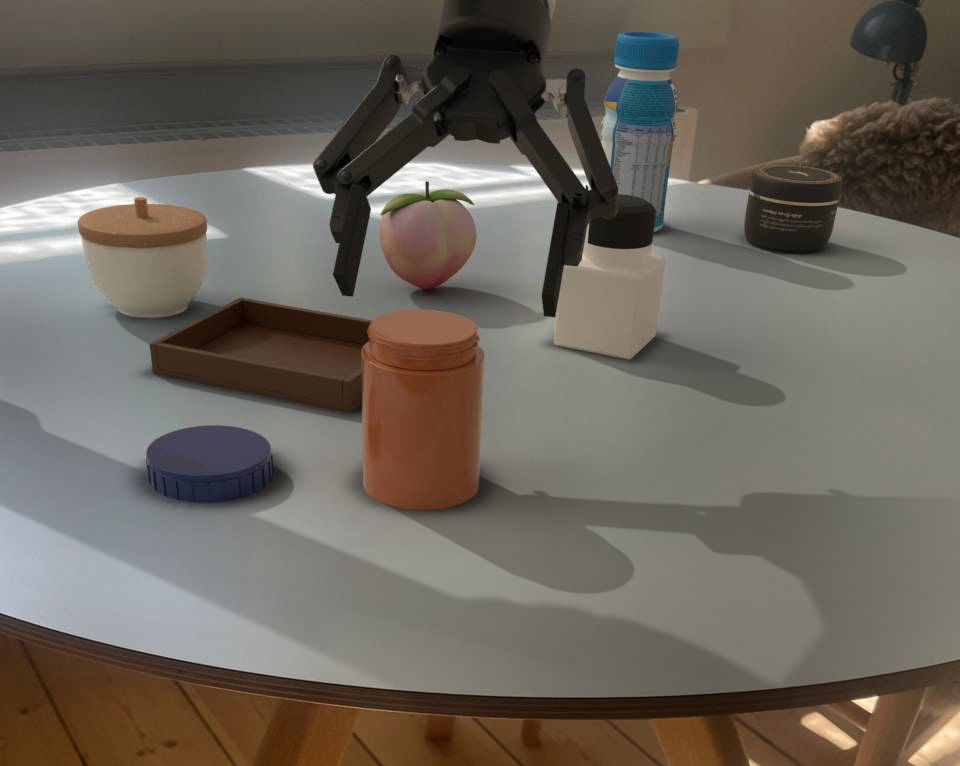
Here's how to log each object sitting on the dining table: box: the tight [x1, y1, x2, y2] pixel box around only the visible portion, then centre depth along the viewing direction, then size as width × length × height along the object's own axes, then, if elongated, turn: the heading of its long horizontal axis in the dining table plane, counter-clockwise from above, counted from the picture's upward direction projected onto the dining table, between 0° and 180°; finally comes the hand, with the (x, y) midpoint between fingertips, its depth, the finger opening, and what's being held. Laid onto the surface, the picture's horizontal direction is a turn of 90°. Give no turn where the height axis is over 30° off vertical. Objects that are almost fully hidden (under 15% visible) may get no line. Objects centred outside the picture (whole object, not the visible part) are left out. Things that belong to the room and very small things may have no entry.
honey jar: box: [361, 309, 486, 511], centre depth 73 cm, size 8×8×11 cm
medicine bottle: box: [553, 194, 666, 360], centre depth 98 cm, size 7×7×12 cm
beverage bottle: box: [599, 31, 680, 233], centre depth 130 cm, size 8×8×20 cm
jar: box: [743, 164, 843, 255], centre depth 129 cm, size 10×10×8 cm
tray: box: [149, 297, 373, 414], centre depth 92 cm, size 17×13×2 cm
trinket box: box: [77, 196, 208, 319], centre depth 101 cm, size 11×11×9 cm
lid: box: [145, 424, 274, 503], centre depth 75 cm, size 8×8×2 cm
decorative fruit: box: [378, 180, 478, 291], centre depth 109 cm, size 9×8×10 cm
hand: (444, 296), depth 75 cm, fingers open, 13 cm apart
